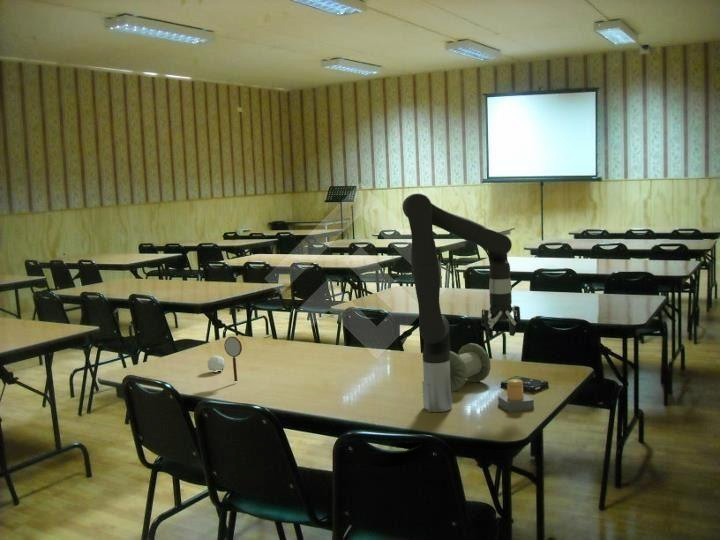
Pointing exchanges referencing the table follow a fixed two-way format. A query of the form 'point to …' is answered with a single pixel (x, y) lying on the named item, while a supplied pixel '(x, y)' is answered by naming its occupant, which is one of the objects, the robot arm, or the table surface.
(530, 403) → the grey piece
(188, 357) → the table surface
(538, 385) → the disk drive
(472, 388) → the table surface
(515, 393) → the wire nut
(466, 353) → the spool
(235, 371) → the magnifying glass
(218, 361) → the ball
